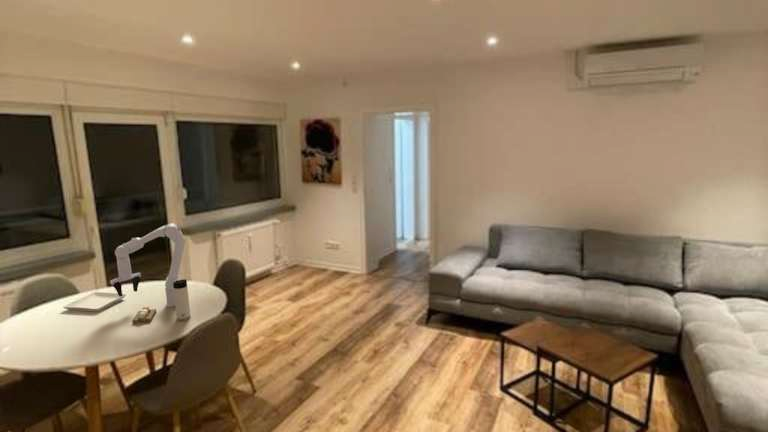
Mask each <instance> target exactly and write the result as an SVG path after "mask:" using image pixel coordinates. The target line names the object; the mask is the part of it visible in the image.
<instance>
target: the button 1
mask: <svg viewBox="0 0 768 432" xmlns="http://www.w3.org/2000/svg"><path fill="white" fill-rule="evenodd" d="M146 318H147V317H146V313H145V312H141V313H139V319H146Z"/></svg>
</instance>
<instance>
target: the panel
mask: <svg viewBox="0 0 768 432" xmlns="http://www.w3.org/2000/svg"><path fill="white" fill-rule="evenodd" d="M149 310H150V313H149V314H148V316H147V317H146V319H139V313H141V310H138V311H137V313H136V314H135V315H134V316H133V317H134V318H133V319H132V325H138V324H147V323H152V322H153V320H154V317H155V316H156V314H157V309H156V308H154V309H149Z"/></svg>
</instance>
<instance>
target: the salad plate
mask: <svg viewBox="0 0 768 432" xmlns="http://www.w3.org/2000/svg"><path fill="white" fill-rule="evenodd" d="M126 296H127V294H126V293H122V296H119V295H118V293H117V292H102V291H101V292H100V291H99V292H98V291H94V292H91V293H90V294H87V295H84V296H83V297H81V298H78V299H76V300H74V301H72V302H70V303H68V304H66V305H63V307H62V308H64V309H65V310H70V311H80V312H81V311H82V312H83V311H84V312H99V311H101V310H104V309H105V308H107V307H109V306H112V305H114V304H116V303H117V302H119V301H121V300H123V299H124V298H125V297H126Z"/></svg>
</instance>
